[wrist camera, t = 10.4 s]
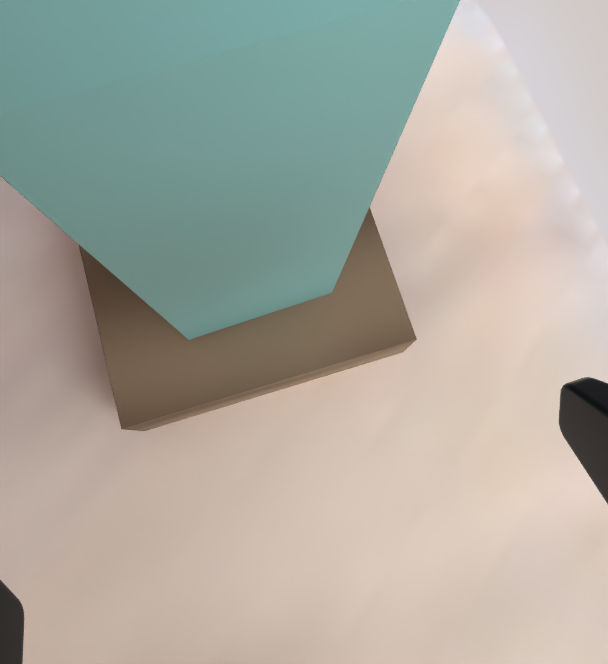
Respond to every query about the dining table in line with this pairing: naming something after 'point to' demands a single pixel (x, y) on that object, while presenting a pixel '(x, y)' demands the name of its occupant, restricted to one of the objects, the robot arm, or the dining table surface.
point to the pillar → (211, 137)
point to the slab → (246, 341)
